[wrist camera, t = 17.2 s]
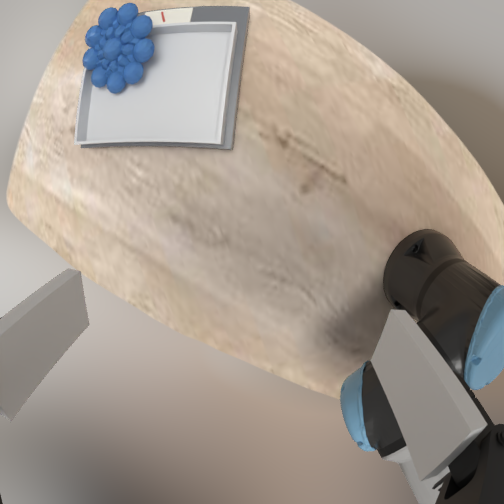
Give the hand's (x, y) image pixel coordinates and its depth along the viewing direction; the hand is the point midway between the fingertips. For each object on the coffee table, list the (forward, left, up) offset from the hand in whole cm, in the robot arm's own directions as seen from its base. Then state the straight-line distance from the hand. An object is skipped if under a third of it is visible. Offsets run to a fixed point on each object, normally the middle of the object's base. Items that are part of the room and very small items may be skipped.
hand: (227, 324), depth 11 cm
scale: (+14, -17, -29) cm, 36 cm away
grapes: (+15, -15, -24) cm, 32 cm away
